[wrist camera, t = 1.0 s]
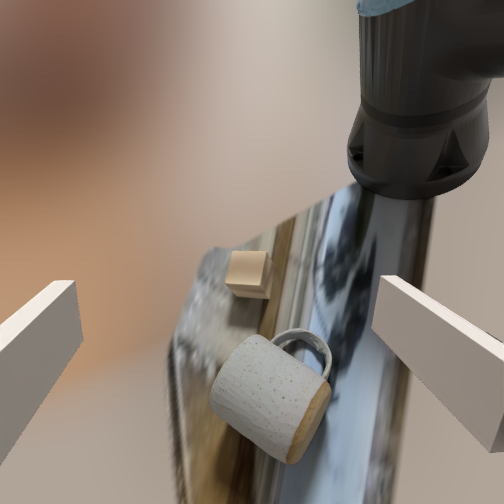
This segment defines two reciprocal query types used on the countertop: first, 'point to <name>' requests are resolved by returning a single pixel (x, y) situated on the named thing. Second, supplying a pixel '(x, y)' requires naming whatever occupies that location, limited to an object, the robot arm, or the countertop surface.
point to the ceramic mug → (273, 394)
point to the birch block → (250, 274)
